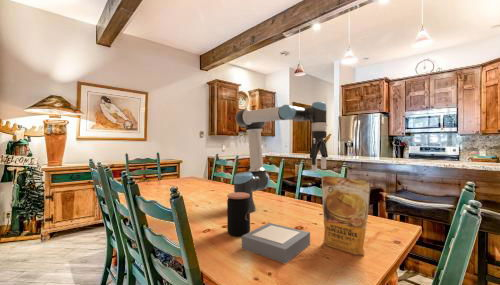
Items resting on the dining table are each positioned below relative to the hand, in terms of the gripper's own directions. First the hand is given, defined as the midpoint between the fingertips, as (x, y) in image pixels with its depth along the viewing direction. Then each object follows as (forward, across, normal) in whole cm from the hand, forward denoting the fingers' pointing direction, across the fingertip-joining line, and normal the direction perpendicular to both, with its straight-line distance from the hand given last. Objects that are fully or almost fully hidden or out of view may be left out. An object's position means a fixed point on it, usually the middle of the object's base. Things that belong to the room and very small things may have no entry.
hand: (319, 170), depth 129 cm
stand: (+27, -42, +2) cm, 50 cm away
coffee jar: (+28, -39, +24) cm, 54 cm away
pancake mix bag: (+27, -27, -20) cm, 44 cm away
